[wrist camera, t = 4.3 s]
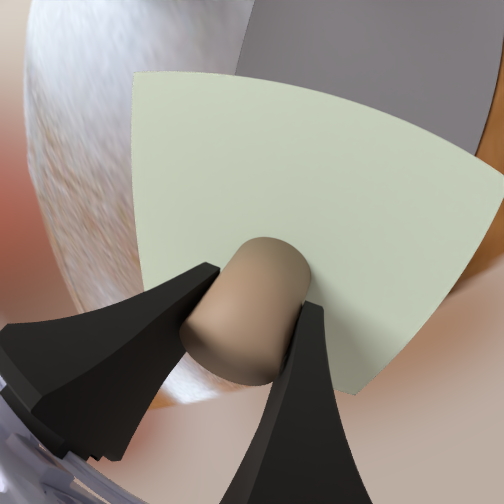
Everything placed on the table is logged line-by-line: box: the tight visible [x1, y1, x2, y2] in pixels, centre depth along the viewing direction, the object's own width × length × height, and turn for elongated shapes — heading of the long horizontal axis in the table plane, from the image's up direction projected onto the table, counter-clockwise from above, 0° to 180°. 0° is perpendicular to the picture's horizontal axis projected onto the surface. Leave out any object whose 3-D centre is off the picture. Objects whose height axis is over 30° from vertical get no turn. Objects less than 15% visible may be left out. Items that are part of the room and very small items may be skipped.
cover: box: [131, 71, 504, 395], centre depth 9 cm, size 13×13×5 cm
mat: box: [235, 0, 504, 156], centre depth 9 cm, size 15×15×1 cm
